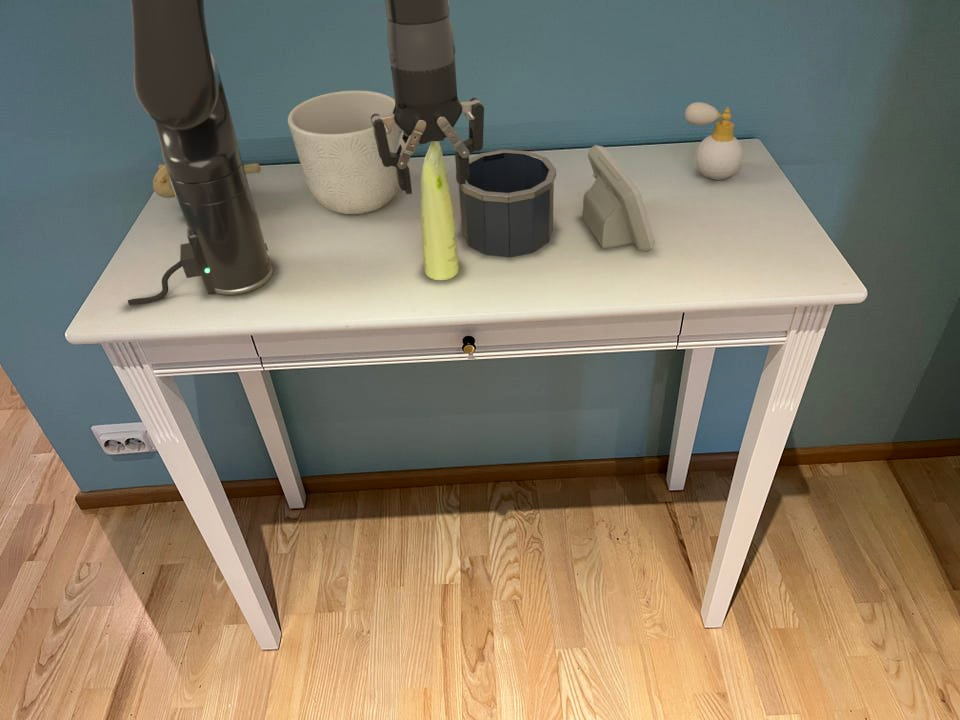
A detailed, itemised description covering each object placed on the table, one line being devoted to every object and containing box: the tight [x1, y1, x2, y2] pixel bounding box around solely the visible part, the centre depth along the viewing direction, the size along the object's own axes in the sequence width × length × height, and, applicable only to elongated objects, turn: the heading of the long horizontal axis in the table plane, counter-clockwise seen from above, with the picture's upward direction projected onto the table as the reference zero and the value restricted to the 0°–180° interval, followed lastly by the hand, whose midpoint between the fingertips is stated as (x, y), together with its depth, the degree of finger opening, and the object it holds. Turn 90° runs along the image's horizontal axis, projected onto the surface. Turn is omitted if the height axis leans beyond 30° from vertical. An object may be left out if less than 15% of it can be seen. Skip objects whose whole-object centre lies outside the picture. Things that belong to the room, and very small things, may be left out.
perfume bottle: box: [684, 101, 744, 181], centre depth 118 cm, size 8×10×12 cm
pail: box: [455, 149, 557, 258], centre depth 109 cm, size 14×14×10 cm
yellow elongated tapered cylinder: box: [420, 141, 460, 281], centre depth 98 cm, size 6×5×20 cm
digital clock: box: [581, 144, 655, 252], centre depth 108 cm, size 16×9×11 cm, turn 2°
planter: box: [287, 90, 402, 215], centre depth 116 cm, size 17×17×15 cm
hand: (434, 186), depth 96 cm, fingers open, 6 cm apart
